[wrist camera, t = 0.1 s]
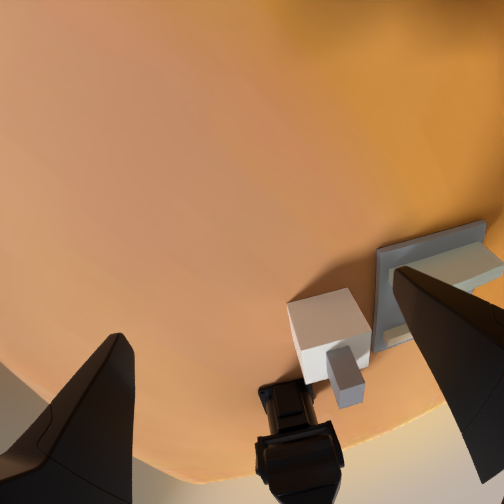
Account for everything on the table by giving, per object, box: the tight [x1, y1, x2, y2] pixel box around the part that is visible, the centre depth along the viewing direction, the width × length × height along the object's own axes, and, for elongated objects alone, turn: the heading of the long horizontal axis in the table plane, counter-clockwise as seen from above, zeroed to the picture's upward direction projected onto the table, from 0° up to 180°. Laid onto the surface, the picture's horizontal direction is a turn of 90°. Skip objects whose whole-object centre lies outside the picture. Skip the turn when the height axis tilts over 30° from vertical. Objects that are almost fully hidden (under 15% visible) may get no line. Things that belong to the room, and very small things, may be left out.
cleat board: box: [371, 220, 504, 354], centre depth 27 cm, size 14×14×6 cm
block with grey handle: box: [286, 287, 372, 409], centre depth 25 cm, size 5×6×10 cm
